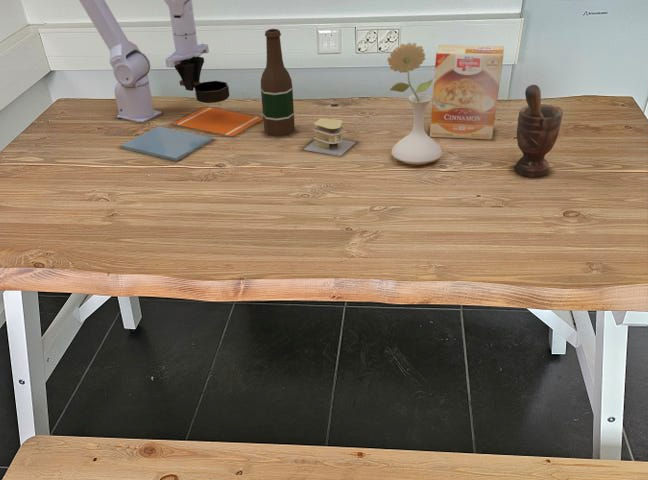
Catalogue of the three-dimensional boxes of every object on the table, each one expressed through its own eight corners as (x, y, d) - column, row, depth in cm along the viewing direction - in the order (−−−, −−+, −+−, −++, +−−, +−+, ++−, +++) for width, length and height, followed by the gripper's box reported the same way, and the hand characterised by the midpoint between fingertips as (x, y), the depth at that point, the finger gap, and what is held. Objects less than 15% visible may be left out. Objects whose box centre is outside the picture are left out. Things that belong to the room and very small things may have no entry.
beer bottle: (296, 126, 175) (291, 25, 160) (293, 138, 170) (287, 34, 154) (266, 126, 176) (258, 26, 161) (262, 138, 170) (253, 35, 155)
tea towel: (172, 124, 181) (172, 123, 180) (205, 107, 190) (205, 106, 189) (232, 137, 172) (232, 136, 172) (264, 119, 181) (264, 117, 180)
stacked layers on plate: (302, 149, 164) (301, 127, 160) (319, 136, 170) (318, 114, 166) (340, 156, 160) (340, 133, 156) (356, 142, 166) (356, 119, 162)
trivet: (121, 148, 170) (120, 145, 169) (159, 129, 179) (158, 126, 178) (176, 161, 162) (175, 158, 161) (213, 140, 171) (212, 137, 170)
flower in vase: (444, 150, 159) (454, 35, 143) (438, 171, 151) (448, 51, 135) (388, 147, 162) (392, 34, 146) (380, 167, 154) (382, 49, 138)
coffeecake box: (429, 137, 166) (435, 52, 153) (431, 126, 171) (438, 43, 159) (492, 140, 163) (503, 54, 150) (493, 129, 168) (504, 45, 156)
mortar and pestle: (549, 187, 142) (568, 89, 130) (507, 183, 145) (521, 86, 132) (552, 164, 151) (570, 70, 138) (512, 161, 153) (526, 68, 140)
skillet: (235, 94, 177) (234, 82, 175) (215, 104, 171) (213, 92, 169) (193, 87, 183) (191, 75, 181) (172, 96, 178) (170, 84, 176)
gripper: (177, 41, 163) (186, 99, 172) (215, 27, 172) (221, 82, 181) (155, 38, 166) (165, 95, 175) (193, 24, 175) (200, 79, 184)
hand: (192, 88), depth 178 cm, fingers closed on skillet, 2 cm apart
